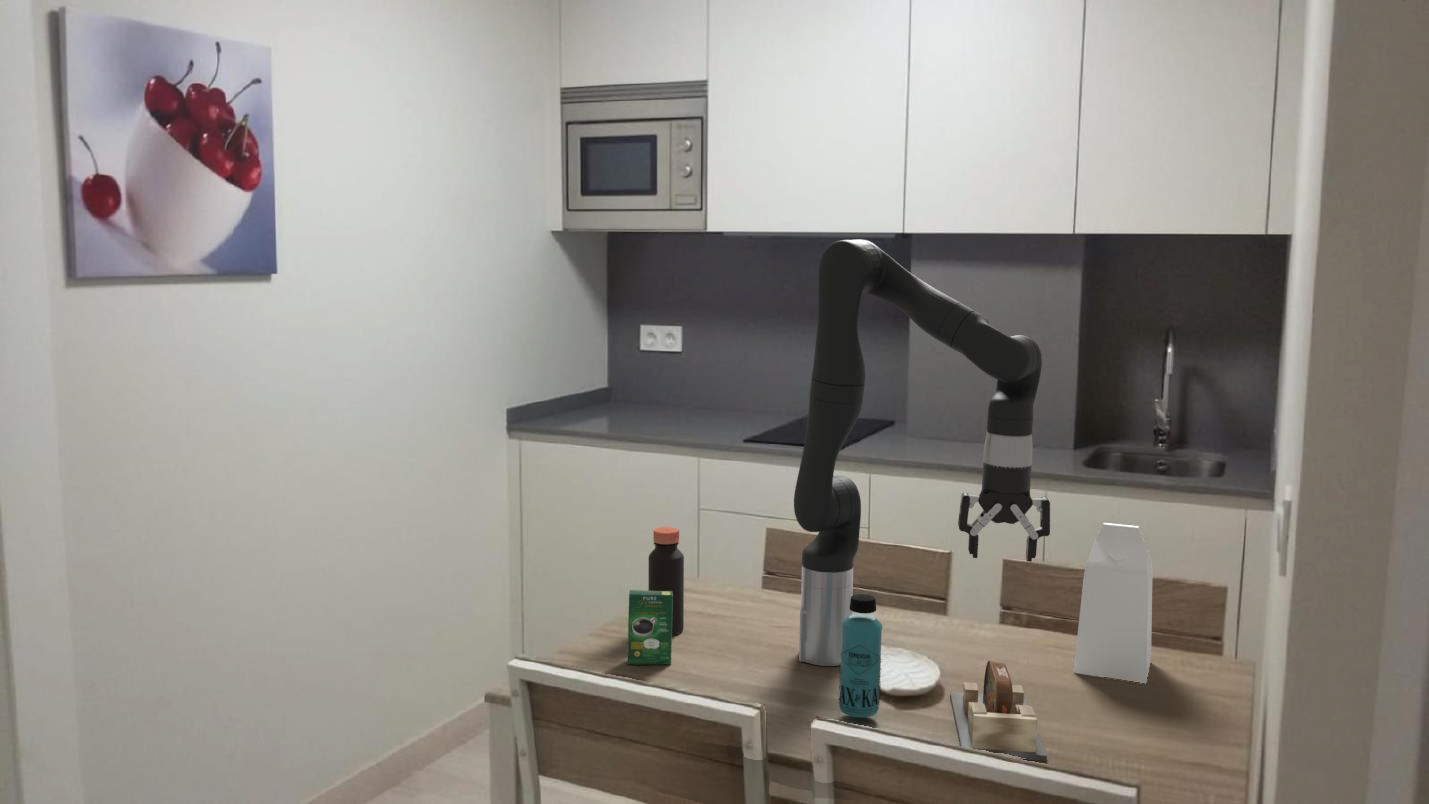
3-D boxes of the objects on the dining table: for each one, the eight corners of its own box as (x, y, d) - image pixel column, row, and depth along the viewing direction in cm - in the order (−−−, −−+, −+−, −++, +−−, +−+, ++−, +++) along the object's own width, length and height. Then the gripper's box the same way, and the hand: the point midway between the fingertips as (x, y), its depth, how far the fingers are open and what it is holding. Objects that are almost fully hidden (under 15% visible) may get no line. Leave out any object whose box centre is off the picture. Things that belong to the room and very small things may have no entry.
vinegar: (690, 629, 217) (690, 529, 214) (670, 639, 211) (670, 536, 209) (661, 622, 221) (662, 524, 218) (641, 632, 215) (641, 531, 212)
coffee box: (672, 659, 201) (673, 589, 199) (672, 665, 198) (673, 594, 196) (627, 659, 200) (627, 589, 199) (627, 665, 198) (627, 594, 196)
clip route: (962, 755, 163) (964, 718, 163) (950, 696, 185) (951, 663, 184) (1046, 761, 162) (1048, 722, 161) (1024, 701, 183) (1025, 667, 183)
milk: (1150, 662, 202) (1159, 521, 198) (1146, 684, 191) (1155, 536, 188) (1081, 651, 207) (1089, 514, 203) (1073, 672, 196) (1081, 528, 193)
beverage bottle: (834, 710, 179) (837, 590, 176) (875, 709, 179) (878, 589, 177) (842, 728, 172) (845, 603, 170) (884, 726, 173) (888, 602, 170)
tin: (981, 702, 181) (983, 652, 180) (1001, 703, 180) (1003, 653, 179) (991, 741, 166) (993, 687, 165) (1012, 743, 166) (1015, 689, 165)
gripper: (963, 463, 176) (958, 562, 178) (1057, 467, 174) (1050, 568, 176) (960, 454, 183) (955, 549, 186) (1050, 458, 181) (1043, 555, 183)
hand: (1001, 558), depth 181 cm, fingers open, 8 cm apart
